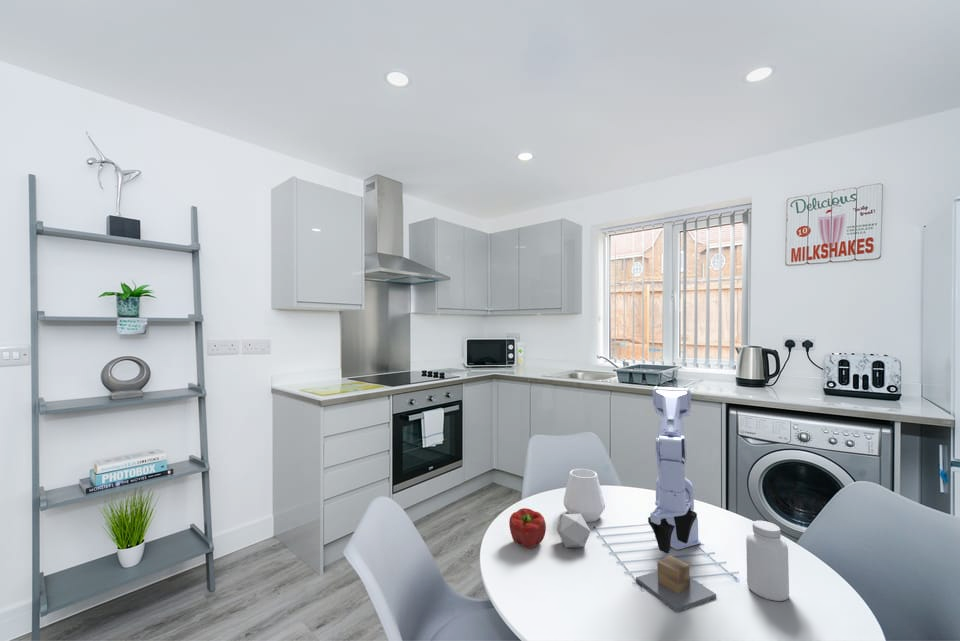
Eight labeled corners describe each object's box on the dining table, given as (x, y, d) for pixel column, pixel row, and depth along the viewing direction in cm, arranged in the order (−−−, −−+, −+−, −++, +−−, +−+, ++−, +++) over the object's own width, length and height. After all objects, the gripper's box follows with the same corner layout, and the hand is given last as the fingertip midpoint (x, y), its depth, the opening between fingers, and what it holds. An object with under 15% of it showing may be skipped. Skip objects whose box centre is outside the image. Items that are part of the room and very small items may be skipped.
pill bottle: (791, 607, 88) (789, 537, 89) (747, 594, 92) (745, 528, 93) (787, 587, 95) (785, 522, 95) (746, 576, 99) (744, 514, 100)
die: (583, 559, 109) (599, 523, 112) (554, 540, 110) (569, 505, 114) (576, 554, 117) (591, 521, 120) (548, 536, 118) (563, 504, 122)
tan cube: (669, 576, 98) (669, 555, 99) (690, 586, 94) (689, 564, 94) (657, 583, 96) (657, 561, 96) (678, 594, 91) (677, 571, 92)
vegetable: (548, 555, 110) (547, 518, 110) (510, 555, 110) (509, 518, 110) (543, 535, 120) (543, 501, 121) (509, 535, 121) (508, 501, 121)
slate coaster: (673, 569, 103) (672, 566, 103) (716, 597, 91) (716, 593, 91) (635, 580, 98) (635, 577, 98) (676, 611, 87) (676, 608, 87)
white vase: (611, 525, 127) (609, 480, 127) (568, 525, 127) (567, 480, 127) (599, 506, 140) (598, 466, 140) (560, 507, 140) (559, 466, 141)
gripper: (673, 476, 103) (674, 530, 102) (638, 489, 95) (639, 548, 94) (701, 485, 97) (702, 542, 97) (666, 499, 89) (668, 562, 89)
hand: (673, 546), depth 95 cm, fingers open, 7 cm apart
